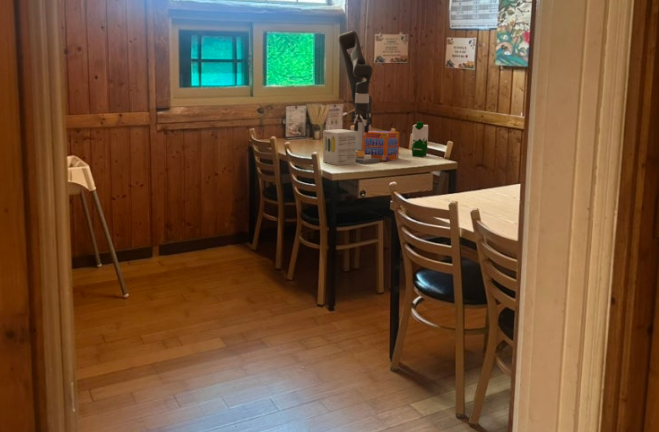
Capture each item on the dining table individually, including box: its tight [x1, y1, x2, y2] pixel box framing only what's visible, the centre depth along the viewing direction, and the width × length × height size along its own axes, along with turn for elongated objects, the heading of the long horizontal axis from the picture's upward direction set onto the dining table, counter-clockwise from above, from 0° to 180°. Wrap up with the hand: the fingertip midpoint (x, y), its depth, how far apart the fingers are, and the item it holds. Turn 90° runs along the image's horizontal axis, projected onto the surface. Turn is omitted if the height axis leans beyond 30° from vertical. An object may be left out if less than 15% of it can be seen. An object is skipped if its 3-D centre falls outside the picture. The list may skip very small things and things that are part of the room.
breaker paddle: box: [356, 150, 365, 157], centre depth 394 cm, size 5×2×3 cm, turn 128°
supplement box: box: [322, 128, 357, 166], centre depth 387 cm, size 13×13×18 cm
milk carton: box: [411, 121, 429, 158], centre depth 413 cm, size 9×9×20 cm
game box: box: [361, 130, 400, 162], centre depth 402 cm, size 16×16×16 cm
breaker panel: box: [355, 155, 380, 165], centre depth 394 cm, size 11×18×4 cm, turn 38°
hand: (361, 131), depth 391 cm, fingers open, 8 cm apart
